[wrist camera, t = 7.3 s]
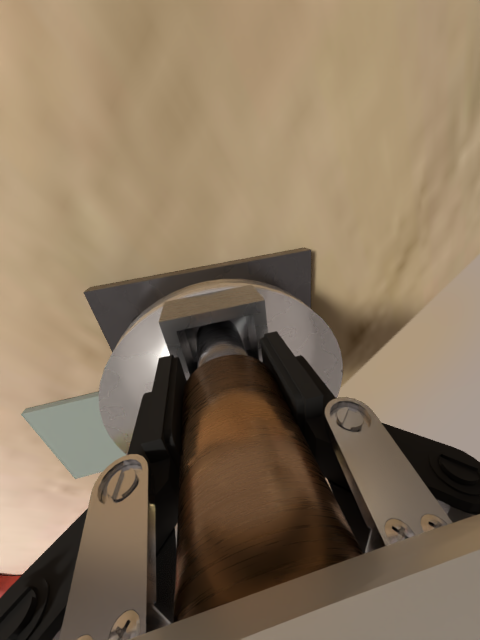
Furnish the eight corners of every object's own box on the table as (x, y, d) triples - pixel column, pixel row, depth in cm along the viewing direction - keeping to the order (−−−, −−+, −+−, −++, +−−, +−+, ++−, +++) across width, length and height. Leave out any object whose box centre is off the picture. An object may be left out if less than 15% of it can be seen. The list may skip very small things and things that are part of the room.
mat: (25, 409, 20) (21, 414, 19) (118, 386, 21) (116, 391, 20) (77, 473, 25) (75, 479, 24) (152, 453, 25) (151, 458, 25)
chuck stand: (90, 287, 17) (63, 307, 13) (304, 247, 19) (330, 255, 15) (158, 435, 24) (153, 472, 21) (305, 396, 26) (323, 424, 23)
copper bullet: (244, 301, 12) (388, 537, 3) (252, 355, 14) (363, 611, 5) (177, 315, 12) (139, 626, 3) (193, 369, 13) (200, 674, 5)
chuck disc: (324, 427, 23) (375, 508, 16) (153, 476, 21) (136, 588, 14) (333, 256, 15) (434, 288, 9) (60, 309, 13) (-58, 397, 7)
